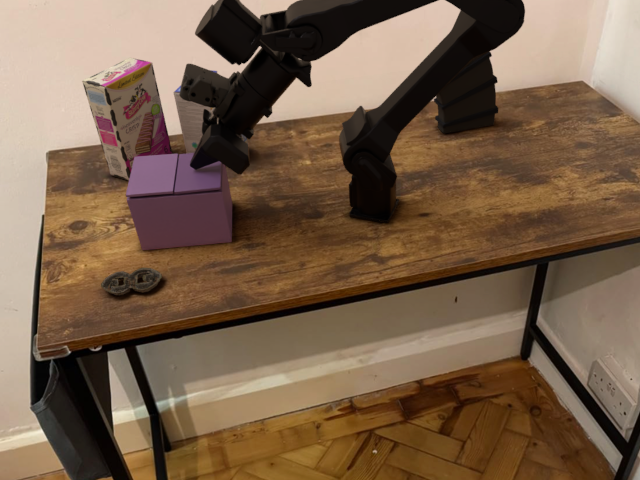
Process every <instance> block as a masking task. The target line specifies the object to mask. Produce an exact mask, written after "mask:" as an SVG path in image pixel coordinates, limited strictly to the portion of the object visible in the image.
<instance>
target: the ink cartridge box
mask: <svg viewBox="0 0 640 480" xmlns="http://www.w3.org/2000/svg"><path fill="white" fill-rule="evenodd" d="M209 70H210V69H209ZM210 71H213V72H215V73H218V70H210ZM180 89H181V85H179V86H178V87H177V88H176V89H175V90H174V91H173V96H174V101H175V106H176V111H177V116H178V119H179V124H180V129H181V130H180V131H181V134H182V138H183V139H182V140H183V143H184V149H185V154H187V153H195V150H196V148H197V146H198V144H199V142H200V139H201V137H202V135H203V134H202V122H203V111H204V109H206V110H208V111H209V112H210V111H211V110H212V109H213V108H211V107H207V106H203V105H200V104H197V103H194V102H189V101H186V100H184V99H182V98H181V97H180V95H179V94H180ZM241 136H242V137H243V138H244V142H246V143H247V144H248V145H249V143H248V138H246V137H245V136H244V135H242V134H241Z"/></svg>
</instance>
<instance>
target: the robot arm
mask: <svg viewBox="0 0 640 480" xmlns="http://www.w3.org/2000/svg"><path fill="white" fill-rule="evenodd" d="M438 1H439V0H296V1H294V2H292V3H291V4H290V5H289V6H288V7H287V9H284V10H279V11H274V12H269V13H264V14H261V15H259V17H258V16H257V15H256V14H255V13H254V12H252V11H251V10H250V9H249V8H248V7H246V6H245V4H244V3H242V2H241V0H216V2H214V3H213V4H211V5H210V6H209V8H208V9H207V10H206V12H205V13H204V15H203V16H202V17H201V19H200V21H199V23H198V25H197V27H196V29H195V31H194V35H195V36H196V37H197V38H198V39H199V40H201V41H202V42H203V43H205V45H207V46H208V47H209V48H210V49H212V50H213V51H214V52H215V53H217V54H218V55H219V56H221V58H223V59H224V60H226V61H227V62H228V63H229V64H231V65H237V66H241V65H242V64H243V65H245V64H246V63H247V62H248V64H247V65H246V66H245V67H244V68H243V70H241V72H240V71H238V70H237V71H236V72H235V71H234V72H232V74H231V75H230V76H229V77H226V76H224V75H221V74H220V73H218V72H217V73H215V72H213V71H214V70H212V71H210V69H207V68H204V67H202V66H199V65H196V64H195V63H194V64H193V63H186V65H185V68H184V72H183V76H182V80H181V84H180V86H181V89H180V94H179V95H180V97H181V98H182V99H184V100H186V101H189V102H194V103H197V104H200V105H203V106H207V107H211V108H213V109H212V110H211V111H210V112H209V111H208V110H206V109H204V111H203V122H202V134H203V135H202V137H201V139H200V142H199V144H198V146H197V148H196V150H195V153H194V155H193V157H192V159H191V161H190V167H192V168H193V169H195V170H197V169H200V168H202V167H205V166H207V165H210V164H213V163H215V162H218V161H220V162H221V163H222V164H224V165H225V166H226V167H227V168H228V169H229V170H230V171H232V172H234V173H235V174H237V175H243V174H244V172H245V171H246V170H247V169H248V168H249V167H250V159H251V158H250V157H251V156H250V148H249V143H248V142H247V143H248V144H247V143H246V142H244V138H243V137H242V136H241V134H242V135H244V136H245V137H246V138H247V140H251V138H253V136H254V134H255V131H254V129H255V127H256V126H257V125H258V124H259V122H260V121H261V120H262V119H263V118H264V117H266V119H269V118H270V116H271V115H272V114H273V106H274V105H275V104H276V103H277V101H278V100H279V99H280V98H281V97H282V95H284V93H285V92H286V91H287V90H288V88H289V87H290V86H291V85H292V84H293V83H294V81H296V79H297V80H298V81H300V82H301V83H302V84H303V86H304V85H305V87H307V88H311V87H312V84H313V83H312V78H311V77H312V76H311V74H312V73H311V72H312V62H315V61H318V60H320V59H321V58H323V57H324V56H327V55H328V54H330V53H331V52H333V51H335V50H336V49H338V48H339V47H341V46H342V45H343V44H344V43H345V42H346V41H347V40H348V39H350V37H352V36H353V35H355V34H357V33H358V32H360V31H363V30H365V29H367V28H370V27H373V26H376V25H379V24H381V23H383V22H386V21H389V20H391V19H393V18H396V17H399V16H401V15H405V14H407V13H410V12H412V11H415V10H417V9H420V8H423V7H425V6H427V5H431V4H433V3H436V2H438ZM444 1H446V2H447V3H449V4H450V5H452V6H454V7H455V8H457V9H458V10H459V13H458V15H457V17H456V20H455V22H454V24H453V27H452V28H451V30H450V31H449V33H447V35H445V37H444V38H443V39H442V40H441V41H440V42H439V43H438V44H437V45H436V46H435V47H434V48H433V49H432V50H431V51H430V52H429V54H428V55H427V56H426V57H425V58H424V59H423V60H422V61H421V62H420V63H419V64H418V65H417V66H416V67H415V68H414V69H413V70H412V71H411V73H409V74H408V76H406V77H405V79H404V80H403V81H402V82H401V83H400V84H399V85H398V86H397V87H396V88H395V89H394V90H393V91H392V92H391V94H390V95H389V96H388V97H387V98H385V99H384V101H382V103H381V104H379V105H378V106H377V107H375V108H373V109H369V110H368V111H367V110H365V108H364V107H363V105H358V107H357V108H356V110H354V113H353V114H352V115H351V117H350V118H348V119H347V120H345V121H342V122H341V126H342V129H341V131H340V133H339V136H338V144H339V145H338V146H339V150H340V154H341V160H342V164H343V166H344V169H345V170H346V171H347V172H348V174H350V175H351V180H350V182H349V183H348V201H349V207H350V208H351V209H350V211H349V212H348V215H349V217H350V218H356V219H361V220H366V221H367V220H368V221H372V222H379V223H384V224H388V223H389V222H390V221H391V219H392V217H393V215H394V213H395V211H396V210H397V208H398V206H399V204H400V199H398V198H397V178H398V175H397V171H396V168H395V165H394V162H393V159H392V155H391V153H392V150H393V149H394V147H395V144H396V141H397V139H398V137H399V135H400V134H401V133H402V131H403V130H404V129H406V127H407V126H409V124H410V123H411V122H412V121H413V120H414V119H415V118H416V117H417V116H418V115H419V114H420V113H421V112H422V111H423V110H424V109H425V108H426V107H427V106H428V105H429V104H430V103H431V102H432V101H434V99H435V98H436V96H437V95H438V94H439V92H440V91H441V90H442V89H443V88H444V87H445V86H446V85H447V84H448V83H449V82H450V81H451V80H452V79H453V78H454V77H455V76H456V75H457V74H458V73H459V72H460V71H461V70H462V69H463V68H464V67H465V66H466V65H467V64H468V63H469V62H470V61H471V60H472V59H474V58H475V57H477V56H480V55H482V54H484V53H487V52H489V51H490V52H492V51H494V50H496V49H498V48H499V47H500V46H501V45H503V44H504V43H505V42H507V41H508V40H509V39H511V38H512V37H514V36H515V35H516V34H517V33H518V32H519V31H520V30H521V28H522V27H523V25H524V23H525V15H526V8H525V3H524V1H523V0H444ZM259 47H260V49H259ZM258 49H259V50H258ZM257 50H258V51H257ZM256 52H257V53H256ZM255 53H256V54H255Z"/></svg>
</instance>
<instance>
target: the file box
mask: <svg viewBox="0 0 640 480" xmlns="http://www.w3.org/2000/svg"><path fill="white" fill-rule="evenodd" d="M178 160H179V153H172V154H164V155H151V156H138V157H134V161H133V166H132V170H131V174H130V179H129V181H128V183H127V186H126V187H127V188H126V192H125V197H126V203H127V206H128V209H129V212H130V215H131V219H132V222H133V225H134V229H135V232H136V235H137V237H138V241H139V245H140V247H141V251H151V250H160V249H171V248H172V249H173V248H182V247H183V248H184V247H193V246H195V247H196V246H204V245H205V246H206V245H215V244H226V243H232V241H233V199H232V193H231V188H230V184H229V177H228V173H227V168H226V167H227V166H225V165H224V164H222V174H221V190H212V191H202V192H192V193H182V194H175V193H174V190H175V183H176V175H177V168H178Z"/></svg>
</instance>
